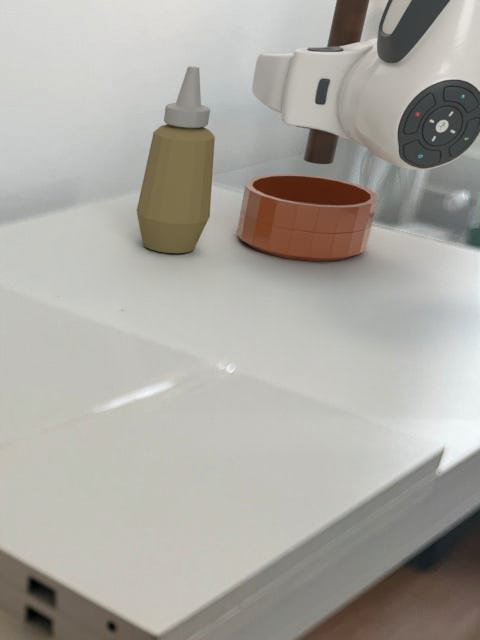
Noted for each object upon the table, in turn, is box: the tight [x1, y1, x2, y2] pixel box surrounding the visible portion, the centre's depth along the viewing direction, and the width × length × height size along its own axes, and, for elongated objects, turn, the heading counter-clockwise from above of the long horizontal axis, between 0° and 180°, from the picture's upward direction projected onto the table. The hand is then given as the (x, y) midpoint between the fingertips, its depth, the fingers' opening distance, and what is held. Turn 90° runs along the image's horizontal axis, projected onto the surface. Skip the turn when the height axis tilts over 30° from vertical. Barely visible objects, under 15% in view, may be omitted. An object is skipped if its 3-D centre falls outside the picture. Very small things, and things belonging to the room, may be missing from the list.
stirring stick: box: [303, 0, 370, 165], centre depth 109 cm, size 3×3×16 cm
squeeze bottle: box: [136, 66, 216, 254], centre depth 111 cm, size 8×8×18 cm
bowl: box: [236, 173, 379, 262], centre depth 118 cm, size 15×15×6 cm
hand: (334, 69), depth 109 cm, fingers closed on stirring stick, 3 cm apart
